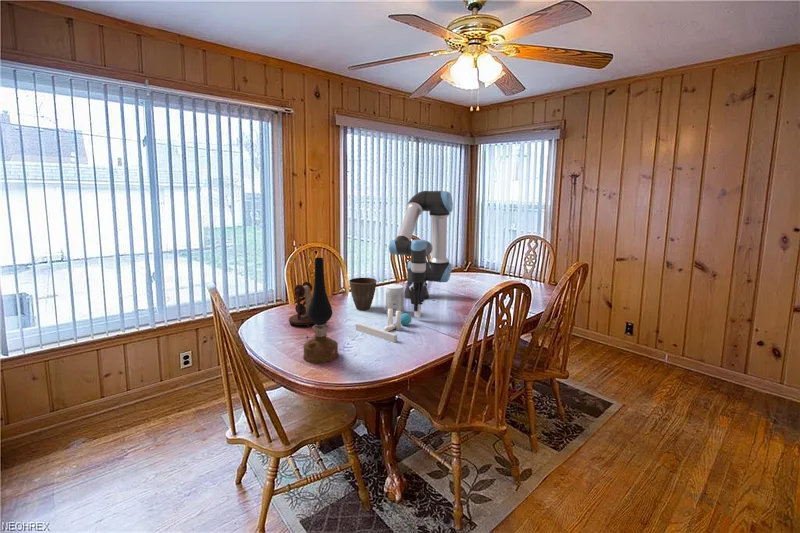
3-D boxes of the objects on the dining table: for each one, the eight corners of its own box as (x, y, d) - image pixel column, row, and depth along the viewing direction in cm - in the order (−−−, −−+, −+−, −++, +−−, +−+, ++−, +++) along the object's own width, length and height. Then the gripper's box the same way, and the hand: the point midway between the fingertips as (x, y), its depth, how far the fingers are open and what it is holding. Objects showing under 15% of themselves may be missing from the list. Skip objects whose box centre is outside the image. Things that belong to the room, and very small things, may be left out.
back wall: (359, 328, 197) (359, 322, 197) (397, 341, 182) (397, 334, 181) (355, 329, 196) (355, 323, 195) (394, 342, 180) (394, 335, 180)
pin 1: (390, 326, 201) (390, 308, 200) (393, 327, 200) (394, 309, 198) (386, 327, 199) (386, 309, 198) (390, 328, 198) (390, 310, 196)
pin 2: (397, 328, 198) (398, 310, 196) (401, 329, 196) (402, 311, 195) (394, 330, 196) (394, 311, 195) (398, 331, 195) (398, 312, 193)
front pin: (397, 321, 200) (384, 326, 194) (400, 323, 199) (387, 327, 192) (396, 326, 201) (383, 330, 195) (400, 328, 200) (387, 332, 193)
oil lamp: (339, 358, 171) (352, 261, 171) (335, 367, 156) (349, 261, 156) (305, 354, 171) (318, 257, 171) (298, 362, 155) (312, 256, 155)
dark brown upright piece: (309, 329, 196) (308, 287, 192) (282, 325, 200) (281, 285, 197) (325, 320, 209) (324, 281, 206) (299, 317, 214) (298, 278, 210)
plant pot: (375, 312, 223) (375, 283, 220) (347, 312, 223) (347, 283, 220) (377, 305, 238) (377, 277, 235) (351, 304, 238) (351, 277, 235)
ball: (394, 320, 202) (400, 326, 206) (404, 322, 198) (410, 328, 202) (400, 309, 204) (406, 315, 208) (409, 311, 200) (415, 318, 204)
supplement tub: (396, 309, 230) (396, 283, 227) (407, 313, 223) (407, 286, 220) (382, 312, 224) (382, 285, 221) (393, 316, 217) (393, 289, 214)
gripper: (420, 268, 214) (419, 312, 218) (403, 271, 204) (403, 318, 208) (432, 270, 209) (430, 315, 213) (415, 273, 199) (414, 321, 203)
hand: (417, 316), depth 211 cm, fingers closed
